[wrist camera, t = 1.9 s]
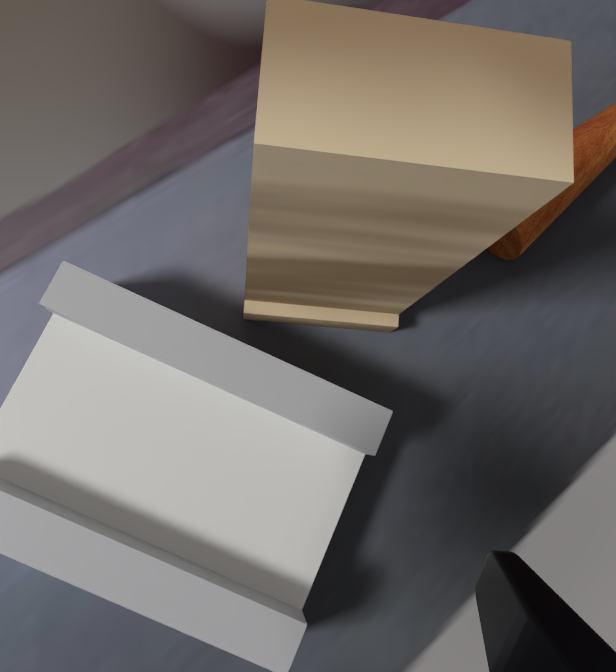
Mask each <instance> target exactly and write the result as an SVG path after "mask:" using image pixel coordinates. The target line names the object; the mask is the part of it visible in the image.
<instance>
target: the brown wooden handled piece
mask: <svg viewBox="0 0 616 672" xmlns="http://www.w3.org/2000/svg"><path fill="white" fill-rule="evenodd" d="M615 158H616V103H615V104H613V105H611V106H610V107H608V108H607V109H605V110H603V111H602V112H600V113H598V114H597V115H595V116H593V117H592V118H590V119H588V120H587V121H585V122H583V123H582V124H580V125H578V126H577V127H575V128H574V129H573V164H574V183H573V184H572V185H570V186H569V187H568V188H566V189H565V190H564V191H562V192H561V193H560V194H558V195H557V196H556V197H554V198H553V199H552V200H550V201H549V202H548V203H546V204H545V205H544V206H542V207H541V208H540V209H538V210H537V211H536V212H534V213H533V214H532V215H530V216H529V217H528V218H526V219H525V220H524V221H522V222H521V223H520V224H518V225H517V226H516V227H514V228H513V229H512V230H510V231H509V232H508V233H506V234H505V235H504V236H502V237H501V238H500V239H498V240H497V241H496V242H494V243H493V244H492V245H490V246H489V247H488V248H487V249H488V250H489V252H490V253H491V254H493V255H495V256H497V257H499V258H501V259H506V260H514V259H515V258H517V257H519V256H520V255H521V254H522V253H523V252H524V251H525V250H526V249H527V248H528V247H529V246H530V245H531V244H532V243H533V242H534V241H535V240H536V239H537V238H538V236H539V235H540V234H541V233H542V232H543V231H544V230H545V229H546V228H547V227H548V226H549V225H550V224H551V223H552V222H553V221H554V220H555V219H556V218H557V217H558V216H559V215H560V214H561V213H562V212H563V211H564V210H565V209H566V208H567V207H568V206H569V205H570V204H571V203H572V202H573V201H574V200H575V199H576V198H577V197H578V196H579V195H580V194H581V193H582V191H583V190H584V189H585V188H586V187H587V186H588V185H589V184H590V183H591V182H592V181H593V180H594V179H595V178H596V177H597V176H598V175H599V174H600V173H601V172H602V171H603V170H604V169H605V168H606V167H607V166H608V165H609V164H610V163H611V162H612V161H613V160H614V159H615Z"/></svg>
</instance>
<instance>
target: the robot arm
mask: <svg viewBox="0 0 616 672" xmlns="http://www.w3.org/2000/svg"><path fill="white" fill-rule="evenodd" d="M476 600H477V606H478V611H479V617H480V622H481V628H482V633H483V639H484V644H485V650H486V655H487V661H488V666H489V672H616V652H615V651H614V650H613V649H612V648H611V647H610V646H609V645H608V644H607V643H606V642H605V641H604V640H603V639H602V638H601V637H600V636H599V635H598V634H597V633H596V632H595V631H594V630H593V629H592V628H591V627H590V626H589V625H588V624H587V623H586V622H585V621H584V620H583V619H582V618H581V617H580V616H579V615H578V614H577V613H576V612H575V611H574V610H573V609H572V608H571V607H570V606H569V605H568V604H566V602H565V601H564V600H563V599H562V598H561V597H559V595H558V594H556V593H555V592H554V591H553V590H552V589H551V588H550V587H549V586H548V585H547V584H546V583H545V582H544V581H543V580H542V579H541V578H540V577H539V576H538V575H537V574H536V573H535V572H534V571H533V570H532V569H531V568H530V567H529V566H528V565H527V564H526V563H525V562H524V561H523V560H522V559H521V558H520V557H519V556H518V555H517V554H515V553H513V552H508V551H491V552H490V553H488V555H487V557H486V559H485V562H484V564H483V567H482V570H481V572H480V575H479V577H478V580H477V583H476Z"/></svg>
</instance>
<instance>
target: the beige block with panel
mask: <svg viewBox="0 0 616 672" xmlns="http://www.w3.org/2000/svg"><path fill="white" fill-rule="evenodd" d="M573 183H574V164H573V113H572V63H571V41H568V40H562V39H555V38H549V37H542V36H535V35H529V34H522V33H516V32H509V31H503V30H496V29H489V28H483V27H476V26H470V25H463V24H457V23H450V22H443V21H437V20H430V19H424V18H417V17H411V16H404V15H398V14H391V13H384V12H378V11H371V10H365V9H358V8H351V7H345V6H338V5H332V4H325V3H319V2H312V1H305V0H267V5H266V15H265V26H264V37H263V48H262V59H261V70H260V81H259V92H258V103H257V114H256V125H255V136H254V150H253V167H252V184H251V201H250V218H249V235H248V252H247V269H246V286H245V302H244V314H243V319H246V320H257V321H269V322H280V323H291V324H302V325H313V326H324V327H335V328H347V329H358V330H369V331H380V332H392V331H393V330H394V329H396V328H397V327H398V322H399V314H400V313H401V312H403V311H404V310H405V309H407V308H408V307H409V306H411V305H412V304H413V303H415V302H416V301H417V300H419V299H420V298H421V297H423V296H424V295H425V294H427V293H428V292H429V291H431V290H432V289H433V288H435V287H436V286H437V285H439V284H440V283H441V282H443V281H444V280H445V279H447V278H448V277H449V276H451V275H452V274H453V273H455V272H456V271H457V270H459V269H460V268H461V267H463V266H464V265H465V264H467V263H468V262H469V261H470V260H472V259H473V258H474V257H476V256H477V255H478V254H480V253H481V252H482V251H484V250H485V249H486V248H488V247H489V246H490V245H492V244H493V243H494V242H496V241H497V240H498V239H500V238H501V237H502V236H504V235H505V234H506V233H508V232H509V231H510V230H512V229H513V228H514V227H516V226H517V225H518V224H520V223H521V222H522V221H524V220H525V219H526V218H528V217H529V216H530V215H532V214H533V213H534V212H536V211H537V210H538V209H540V208H541V207H542V206H544V205H545V204H546V203H548V202H549V201H550V200H552V199H553V198H554V197H556V196H557V195H558V194H560V193H561V192H562V191H564V190H565V189H566V188H568V187H569V186H570V185H572V184H573Z"/></svg>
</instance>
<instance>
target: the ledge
mask: <svg viewBox="0 0 616 672" xmlns="http://www.w3.org/2000/svg"><path fill="white" fill-rule="evenodd" d="M39 304H40V305H42V306H43V307H45V308H46V309H48V310H49V311H51V312H52V313H53V315H52V317H51V319H50V321H49V322H48V324H47V326H46V328H45V329H44V331H43V333H42V335H41V337H40V338H39V340H38V342H37V344H36V346H35V347H34V349H33V351H32V353H31V355H30V356H29V358H28V360H27V362H26V364H25V365H24V367H23V369H22V371H21V373H20V374H19V376H18V378H17V380H16V381H15V383H14V385H13V387H12V389H11V390H10V392H9V394H8V396H7V398H6V399H5V401H4V403H3V405H2V407H1V408H0V554H3V555H5V556H7V557H10V558H12V559H14V560H17V561H19V562H21V563H24V564H26V565H28V566H31V567H33V568H35V569H37V570H40V571H42V572H44V573H47V574H49V575H51V576H54V577H56V578H58V579H61V580H63V581H65V582H68V583H70V584H72V585H74V586H77V587H79V588H81V589H84V590H86V591H88V592H91V593H93V594H95V595H98V596H100V597H102V598H105V599H107V600H109V601H112V602H114V603H116V604H118V605H121V606H123V607H125V608H128V609H130V610H132V611H135V612H137V613H139V614H142V615H144V616H146V617H149V618H151V619H153V620H155V621H158V622H160V623H162V624H165V625H167V626H169V627H172V628H174V629H176V630H179V631H181V632H183V633H186V634H188V635H190V636H193V637H195V638H197V639H199V640H202V641H204V642H206V643H209V644H211V645H213V646H216V647H218V648H220V649H223V650H225V651H227V652H230V653H232V654H234V655H236V656H239V657H241V658H243V659H246V660H248V661H250V662H253V663H255V664H257V665H260V666H262V667H264V668H267V669H269V670H271V671H274V672H288V671H289V669H290V666H291V664H292V661H293V659H294V656H295V654H296V651H297V649H298V646H299V644H300V642H301V639H302V637H303V634H304V632H305V629H306V627H307V622H306V620H305V617H304V614H303V612H302V609H303V606H304V604H305V601H306V599H307V596H308V594H309V591H310V589H311V587H312V584H313V582H314V579H315V577H316V574H317V572H318V569H319V567H320V564H321V562H322V559H323V557H324V555H325V552H326V550H327V547H328V545H329V542H330V540H331V537H332V535H333V532H334V530H335V527H336V525H337V523H338V520H339V518H340V515H341V513H342V510H343V508H344V505H345V503H346V500H347V498H348V495H349V493H350V491H351V488H352V486H353V483H354V481H355V478H356V476H357V473H358V471H359V468H360V466H361V463H362V461H363V459H364V456H365V454H367V455H374V456H375V455H376V453H377V450H378V448H379V445H380V443H381V440H382V438H383V435H384V433H385V430H386V428H387V425H388V423H389V420H390V418H391V415H392V413H393V411H392V410H389V409H387V408H385V407H383V406H381V405H378V404H376V403H374V402H372V401H370V400H367V399H365V398H363V397H361V396H359V395H357V394H354V393H352V392H350V391H348V390H346V389H343V388H341V387H339V386H337V385H335V384H332V383H330V382H328V381H326V380H324V379H321V378H319V377H317V376H315V375H313V374H311V373H308V372H306V371H304V370H302V369H300V368H297V367H295V366H293V365H291V364H289V363H286V362H284V361H282V360H280V359H278V358H275V357H273V356H271V355H269V354H267V353H265V352H262V351H260V350H258V349H256V348H254V347H251V346H249V345H247V344H245V343H243V342H240V341H238V340H236V339H234V338H232V337H229V336H227V335H225V334H223V333H221V332H219V331H216V330H214V329H212V328H210V327H208V326H205V325H203V324H201V323H199V322H197V321H194V320H192V319H190V318H188V317H186V316H183V315H181V314H179V313H177V312H175V311H173V310H170V309H168V308H166V307H164V306H162V305H159V304H157V303H155V302H153V301H151V300H148V299H146V298H144V297H142V296H140V295H137V294H135V293H133V292H131V291H129V290H127V289H124V288H122V287H120V286H118V285H116V284H113V283H111V282H109V281H107V280H105V279H102V278H100V277H98V276H96V275H94V274H91V273H89V272H87V271H85V270H83V269H81V268H78V267H76V266H74V265H72V264H70V263H67V262H65V261H63V262H62V264H61V265H60V267H59V269H58V271H57V272H56V274H55V276H54V278H53V279H52V281H51V283H50V285H49V286H48V288H47V290H46V292H45V294H44V295H43V297H42V299H41V301H40V302H39Z"/></svg>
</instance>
